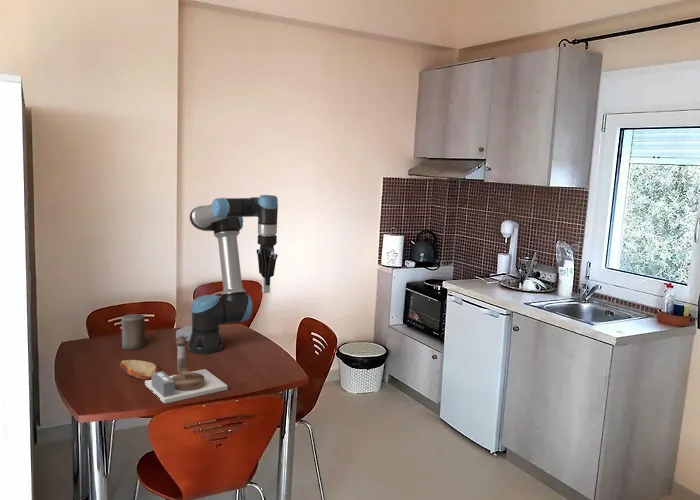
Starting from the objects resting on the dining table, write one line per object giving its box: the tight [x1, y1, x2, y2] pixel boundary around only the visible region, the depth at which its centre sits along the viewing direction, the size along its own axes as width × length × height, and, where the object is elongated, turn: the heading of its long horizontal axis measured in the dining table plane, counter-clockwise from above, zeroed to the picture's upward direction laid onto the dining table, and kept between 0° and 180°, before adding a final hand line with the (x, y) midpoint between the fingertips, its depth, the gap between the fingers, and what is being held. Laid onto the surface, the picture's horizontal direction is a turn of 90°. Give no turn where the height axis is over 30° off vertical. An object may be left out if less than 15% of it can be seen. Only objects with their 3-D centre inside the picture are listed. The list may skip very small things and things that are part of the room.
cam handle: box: [171, 337, 204, 390], centre depth 224 cm, size 17×12×16 cm
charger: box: [175, 324, 192, 342], centre depth 284 cm, size 5×9×15 cm
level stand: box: [144, 368, 229, 404], centre depth 224 cm, size 20×24×7 cm
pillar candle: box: [120, 313, 146, 351], centre depth 265 cm, size 10×10×15 cm
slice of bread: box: [119, 359, 160, 381], centre depth 237 cm, size 18×18×4 cm
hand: (265, 292), depth 241 cm, fingers closed
